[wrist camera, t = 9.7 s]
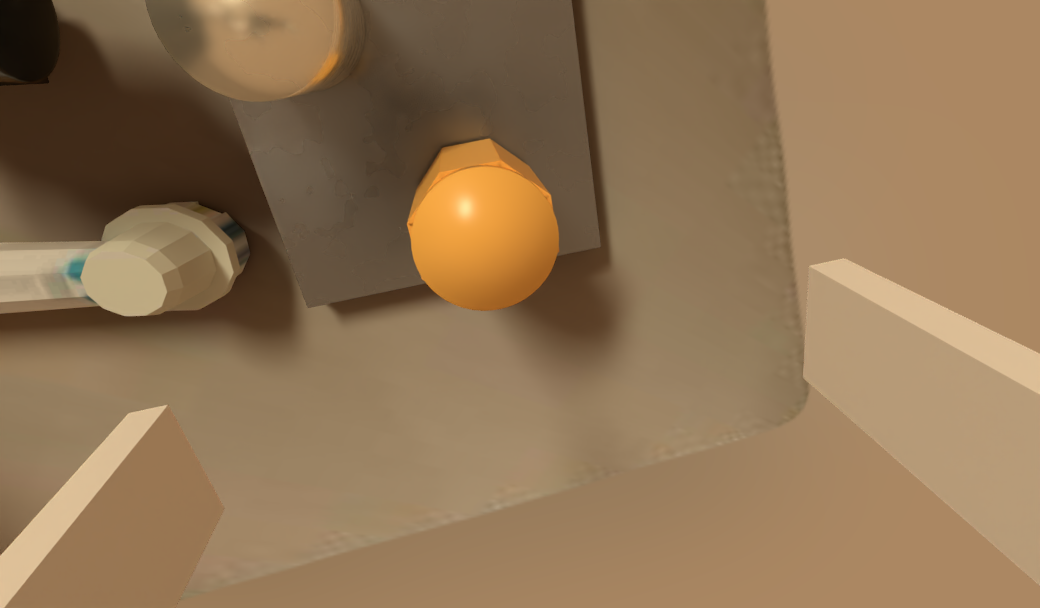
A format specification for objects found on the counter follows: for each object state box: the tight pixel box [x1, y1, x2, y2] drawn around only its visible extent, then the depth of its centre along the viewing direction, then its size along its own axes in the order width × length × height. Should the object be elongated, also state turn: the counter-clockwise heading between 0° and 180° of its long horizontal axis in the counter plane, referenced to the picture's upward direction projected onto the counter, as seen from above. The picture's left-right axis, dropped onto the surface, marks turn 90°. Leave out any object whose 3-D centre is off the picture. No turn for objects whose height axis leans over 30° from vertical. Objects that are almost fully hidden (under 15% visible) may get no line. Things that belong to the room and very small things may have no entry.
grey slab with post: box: [145, 0, 601, 308], centre depth 24 cm, size 16×16×9 cm
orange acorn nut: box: [407, 138, 559, 311], centre depth 24 cm, size 6×6×7 cm
